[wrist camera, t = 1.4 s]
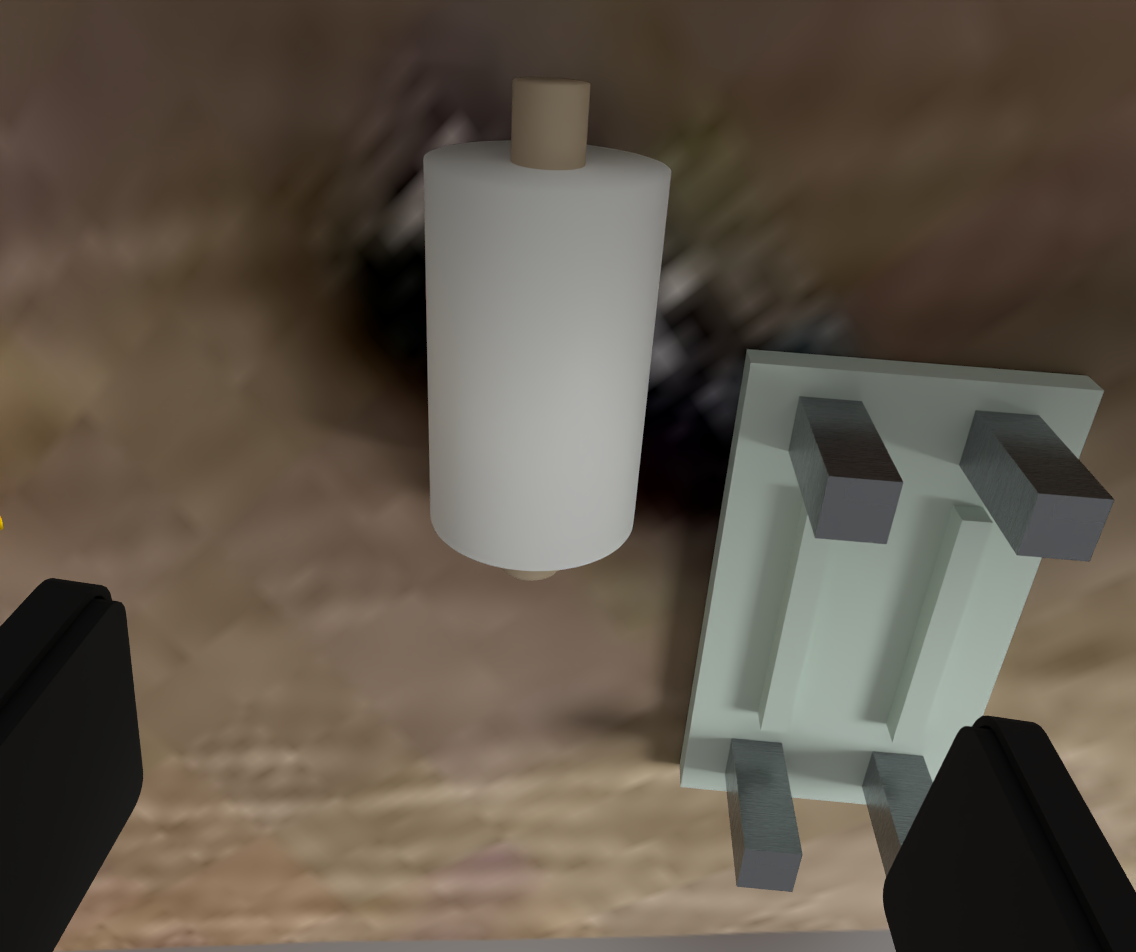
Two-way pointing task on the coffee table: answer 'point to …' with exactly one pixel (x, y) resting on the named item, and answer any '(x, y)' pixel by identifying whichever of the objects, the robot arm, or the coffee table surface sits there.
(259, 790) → the coffee table surface
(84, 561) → the coffee table surface
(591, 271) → the paper roll
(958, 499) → the roll holder
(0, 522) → the figure statuette
